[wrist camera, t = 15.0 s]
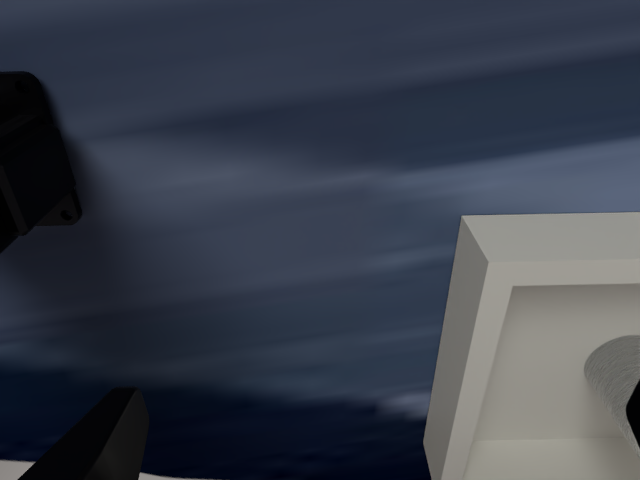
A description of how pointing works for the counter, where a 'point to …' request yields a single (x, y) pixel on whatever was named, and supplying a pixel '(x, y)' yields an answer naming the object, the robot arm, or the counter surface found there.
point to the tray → (533, 348)
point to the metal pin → (616, 378)
